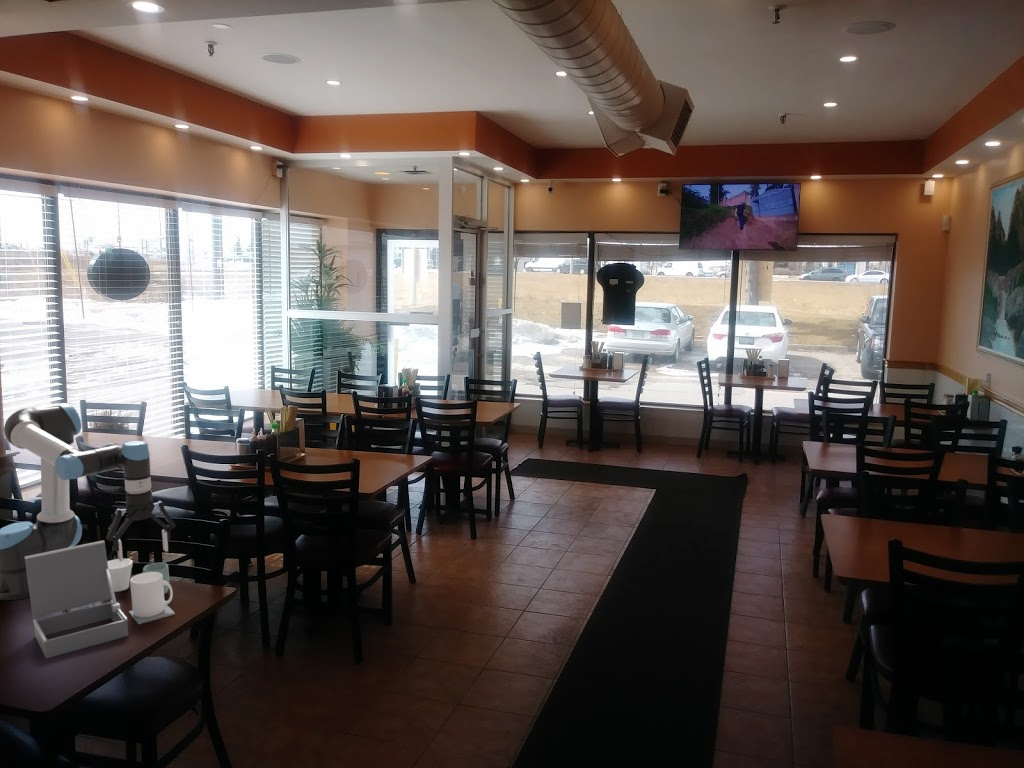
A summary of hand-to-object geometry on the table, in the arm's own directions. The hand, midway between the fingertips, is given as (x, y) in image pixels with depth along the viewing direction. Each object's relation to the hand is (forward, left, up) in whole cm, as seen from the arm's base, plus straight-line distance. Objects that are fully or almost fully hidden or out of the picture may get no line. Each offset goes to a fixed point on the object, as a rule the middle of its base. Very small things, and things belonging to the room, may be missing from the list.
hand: (143, 555), depth 258 cm
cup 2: (-14, +7, -20) cm, 25 cm away
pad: (+1, +1, -20) cm, 20 cm away
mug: (+1, +1, -19) cm, 19 cm away
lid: (-7, -20, -4) cm, 22 cm away
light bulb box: (-16, -16, -20) cm, 30 cm away
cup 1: (-28, -2, -20) cm, 35 cm away
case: (+4, -20, -20) cm, 28 cm away
